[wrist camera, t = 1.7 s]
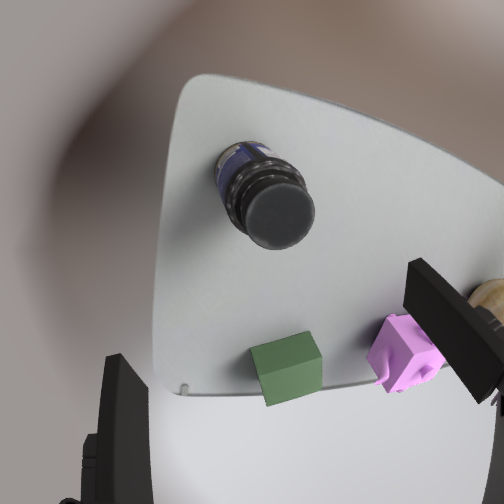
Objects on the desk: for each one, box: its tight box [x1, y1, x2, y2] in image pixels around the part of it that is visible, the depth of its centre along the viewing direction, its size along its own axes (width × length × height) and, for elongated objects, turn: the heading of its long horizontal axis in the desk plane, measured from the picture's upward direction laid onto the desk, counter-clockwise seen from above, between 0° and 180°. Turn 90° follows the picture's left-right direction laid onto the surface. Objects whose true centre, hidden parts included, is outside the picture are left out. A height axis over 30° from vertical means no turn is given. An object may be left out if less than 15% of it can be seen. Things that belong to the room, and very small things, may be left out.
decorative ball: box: [467, 279, 504, 326], centre depth 43 cm, size 15×15×15 cm
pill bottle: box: [214, 141, 315, 250], centre depth 24 cm, size 6×6×11 cm
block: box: [250, 331, 322, 407], centre depth 42 cm, size 8×8×5 cm
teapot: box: [366, 314, 446, 393], centre depth 42 cm, size 15×13×11 cm
